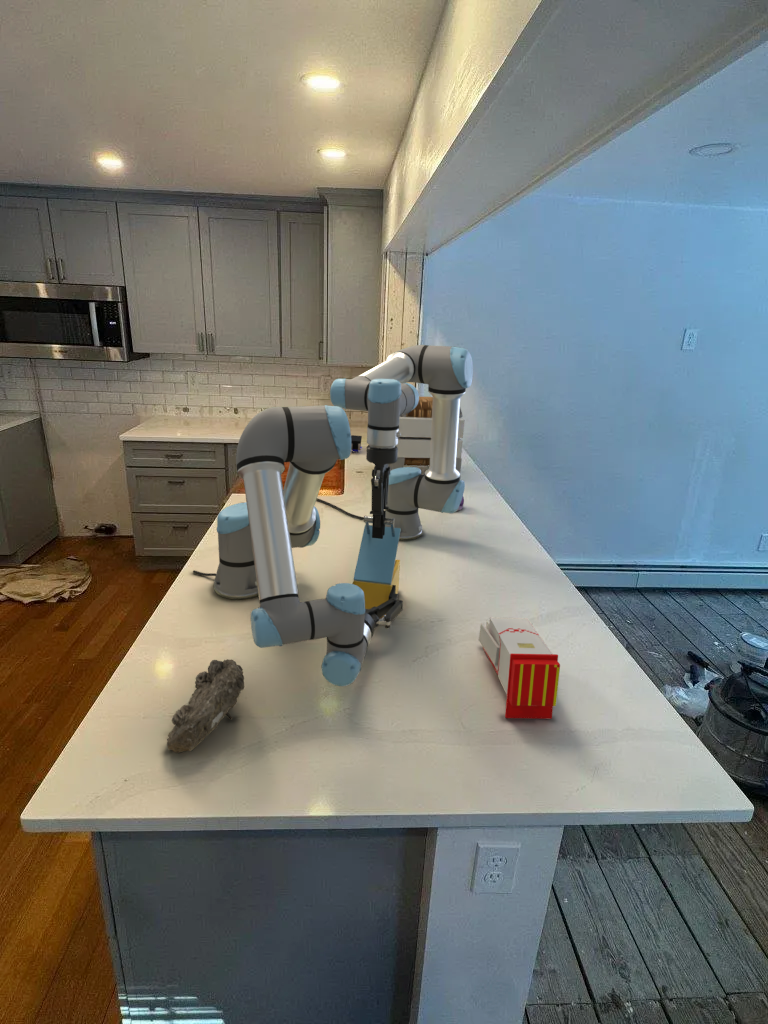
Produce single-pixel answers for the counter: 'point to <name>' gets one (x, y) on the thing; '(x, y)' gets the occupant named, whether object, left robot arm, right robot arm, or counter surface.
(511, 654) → the toy
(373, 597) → the chest
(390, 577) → the lid
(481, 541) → the counter surface
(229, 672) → the fossil
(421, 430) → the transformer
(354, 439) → the figurine character
